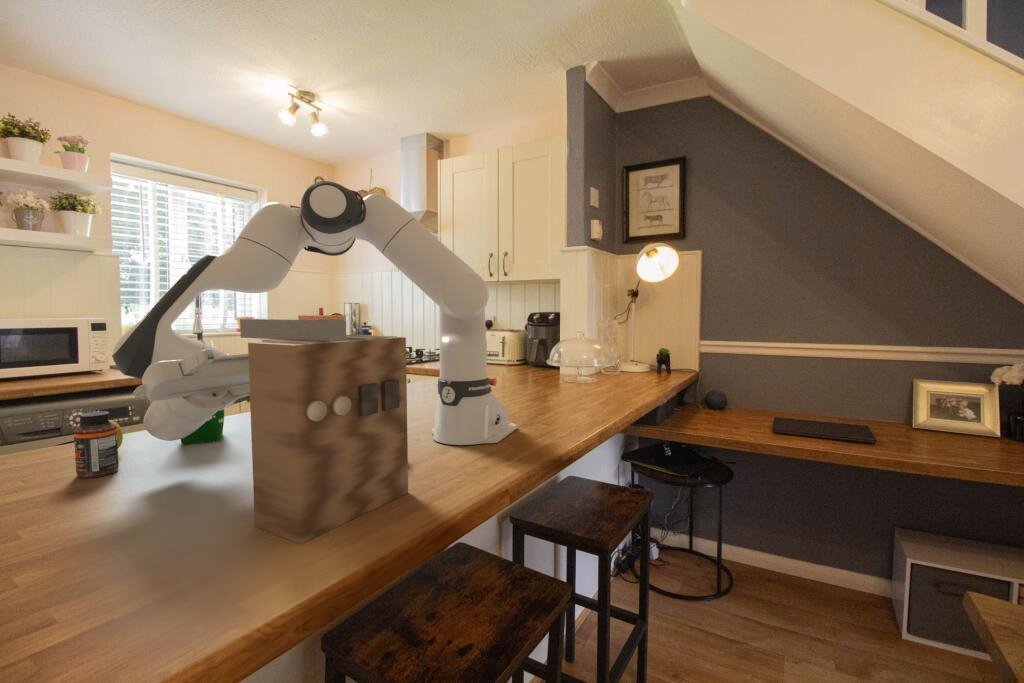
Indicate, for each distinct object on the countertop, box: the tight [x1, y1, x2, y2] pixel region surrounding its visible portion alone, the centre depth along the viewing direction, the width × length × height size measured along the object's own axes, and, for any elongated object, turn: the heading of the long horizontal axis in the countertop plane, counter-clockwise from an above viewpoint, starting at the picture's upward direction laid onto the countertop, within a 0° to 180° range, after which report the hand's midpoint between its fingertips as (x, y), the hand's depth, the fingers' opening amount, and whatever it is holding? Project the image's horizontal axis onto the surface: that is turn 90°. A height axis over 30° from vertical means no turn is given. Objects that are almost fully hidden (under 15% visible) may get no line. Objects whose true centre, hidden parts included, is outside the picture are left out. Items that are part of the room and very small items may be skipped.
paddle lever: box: [239, 314, 347, 342], centre depth 67 cm, size 4×20×3 cm, turn 60°
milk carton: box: [180, 409, 225, 445], centre depth 109 cm, size 9×9×20 cm
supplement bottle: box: [73, 410, 120, 479], centre depth 87 cm, size 6×6×11 cm
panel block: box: [247, 334, 409, 545], centre depth 71 cm, size 20×11×26 cm, turn 150°
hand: (240, 351), depth 74 cm, fingers open, 8 cm apart
